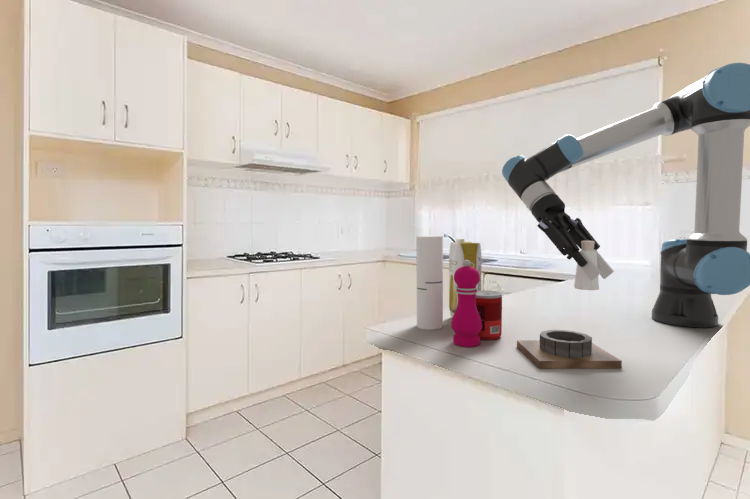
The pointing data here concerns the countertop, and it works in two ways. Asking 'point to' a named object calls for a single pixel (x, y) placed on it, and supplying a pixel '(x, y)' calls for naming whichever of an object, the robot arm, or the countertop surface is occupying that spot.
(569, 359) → the collar plate
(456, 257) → the juice carton
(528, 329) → the countertop surface
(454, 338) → the pepper mill
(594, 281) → the pepper shaker
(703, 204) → the robot arm
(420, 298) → the cylindrical container
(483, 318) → the canned food
